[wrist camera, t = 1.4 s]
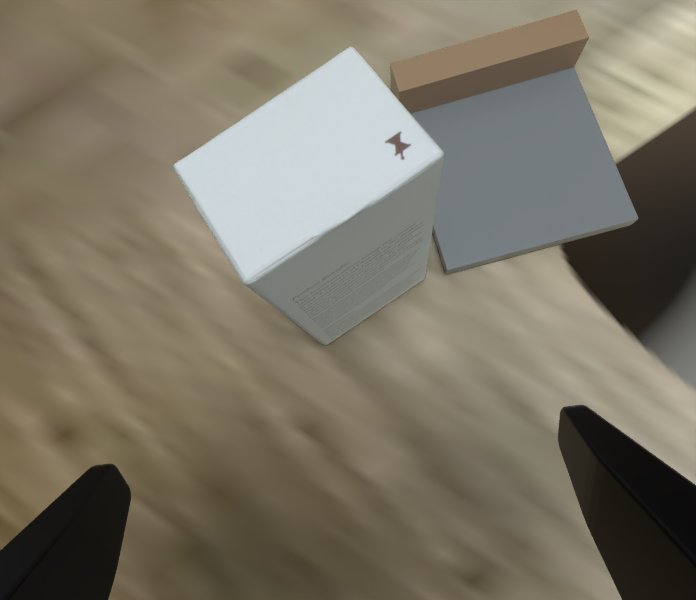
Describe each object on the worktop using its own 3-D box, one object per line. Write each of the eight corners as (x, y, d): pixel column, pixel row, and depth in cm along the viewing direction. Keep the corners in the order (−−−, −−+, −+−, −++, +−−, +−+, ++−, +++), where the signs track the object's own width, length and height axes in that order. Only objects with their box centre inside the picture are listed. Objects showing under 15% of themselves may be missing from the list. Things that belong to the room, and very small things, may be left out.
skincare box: (377, 213, 25) (357, 36, 13) (427, 279, 24) (454, 153, 12) (277, 280, 24) (164, 161, 13) (322, 350, 23) (246, 291, 12)
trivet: (630, 225, 23) (661, 200, 20) (445, 274, 23) (452, 257, 21) (557, 52, 25) (576, 9, 23) (391, 100, 26) (390, 63, 23)
